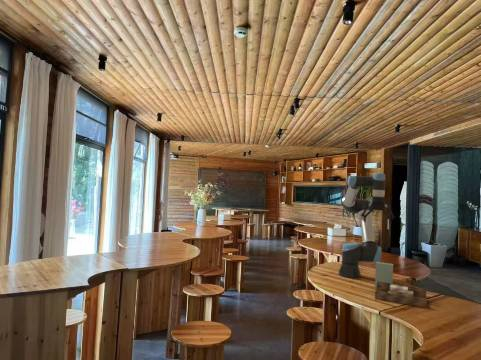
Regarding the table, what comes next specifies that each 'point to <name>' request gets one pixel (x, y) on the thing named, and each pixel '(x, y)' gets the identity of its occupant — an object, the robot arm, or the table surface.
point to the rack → (416, 300)
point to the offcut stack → (400, 290)
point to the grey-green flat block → (383, 273)
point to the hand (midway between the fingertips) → (377, 228)
